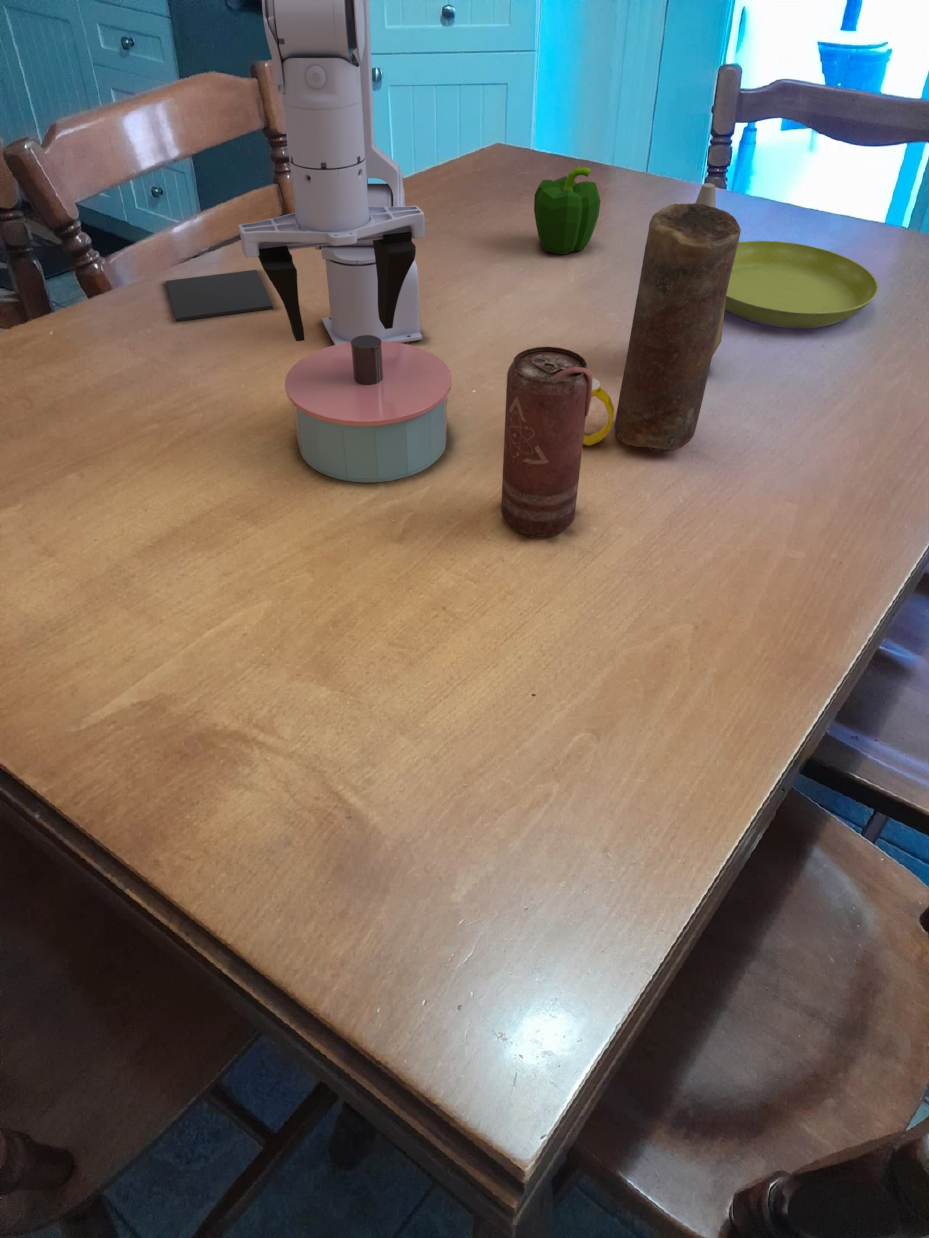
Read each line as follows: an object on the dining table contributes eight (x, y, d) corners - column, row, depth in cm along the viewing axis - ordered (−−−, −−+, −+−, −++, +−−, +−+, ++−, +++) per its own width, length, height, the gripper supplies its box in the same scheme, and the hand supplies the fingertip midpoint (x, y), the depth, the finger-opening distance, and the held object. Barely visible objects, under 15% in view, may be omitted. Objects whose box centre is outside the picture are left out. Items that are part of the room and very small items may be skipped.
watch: (542, 445, 83) (547, 386, 79) (546, 429, 85) (551, 371, 81) (607, 452, 82) (615, 393, 78) (610, 436, 84) (618, 378, 80)
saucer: (674, 319, 103) (679, 292, 101) (708, 256, 117) (713, 230, 115) (863, 352, 97) (873, 324, 95) (876, 281, 111) (884, 255, 109)
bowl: (421, 395, 90) (419, 339, 86) (466, 466, 80) (466, 407, 76) (286, 417, 87) (278, 360, 83) (316, 494, 77) (309, 434, 73)
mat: (257, 272, 112) (256, 269, 112) (273, 308, 104) (272, 305, 104) (166, 284, 109) (165, 280, 109) (176, 321, 102) (175, 318, 101)
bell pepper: (519, 251, 118) (523, 169, 111) (548, 232, 123) (554, 153, 116) (577, 265, 114) (585, 181, 108) (604, 245, 120) (614, 164, 113)
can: (573, 545, 72) (591, 386, 63) (495, 534, 73) (501, 377, 64) (581, 501, 77) (599, 347, 67) (507, 492, 78) (515, 339, 68)
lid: (423, 342, 87) (422, 296, 84) (474, 416, 77) (475, 367, 74) (272, 364, 83) (265, 318, 80) (305, 445, 73) (298, 395, 70)
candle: (700, 427, 86) (747, 208, 72) (689, 467, 81) (736, 239, 67) (621, 413, 88) (653, 196, 74) (605, 451, 82) (635, 227, 69)
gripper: (238, 184, 63) (265, 363, 72) (435, 165, 67) (437, 338, 76) (224, 155, 68) (252, 326, 77) (408, 139, 72) (413, 304, 81)
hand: (342, 330), depth 77 cm, fingers open, 7 cm apart
